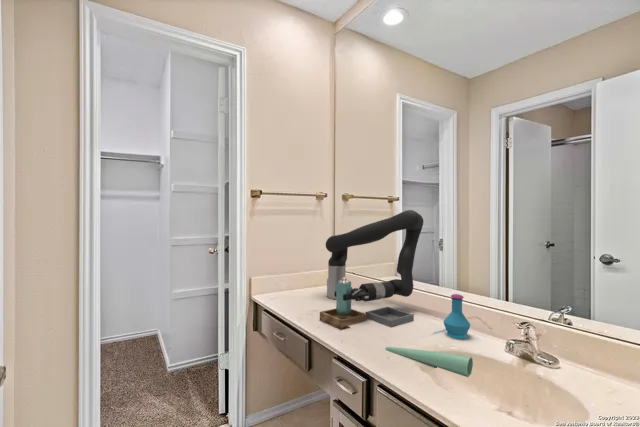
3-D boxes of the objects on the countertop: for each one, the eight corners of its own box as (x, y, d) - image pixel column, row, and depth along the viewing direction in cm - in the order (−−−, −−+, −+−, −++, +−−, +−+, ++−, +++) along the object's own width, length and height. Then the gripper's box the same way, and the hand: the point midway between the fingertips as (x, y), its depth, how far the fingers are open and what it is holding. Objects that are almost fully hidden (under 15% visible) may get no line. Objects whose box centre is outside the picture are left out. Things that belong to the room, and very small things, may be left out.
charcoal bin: (365, 320, 141) (365, 311, 141) (387, 314, 149) (387, 306, 149) (391, 329, 130) (391, 320, 130) (413, 322, 138) (413, 314, 138)
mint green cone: (389, 331, 113) (473, 354, 96) (389, 347, 113) (473, 373, 96) (381, 336, 109) (467, 360, 92) (381, 352, 109) (467, 380, 92)
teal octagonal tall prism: (333, 314, 139) (333, 277, 139) (344, 311, 143) (344, 275, 143) (343, 317, 134) (343, 279, 134) (354, 314, 138) (354, 277, 138)
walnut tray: (319, 320, 140) (319, 311, 140) (344, 314, 148) (344, 306, 148) (341, 329, 129) (341, 320, 129) (367, 322, 137) (367, 314, 137)
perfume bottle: (465, 331, 129) (465, 292, 129) (473, 340, 120) (474, 298, 120) (440, 330, 130) (441, 291, 130) (447, 339, 121) (447, 297, 121)
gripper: (362, 280, 151) (330, 283, 144) (382, 286, 138) (348, 290, 131) (362, 296, 151) (330, 300, 144) (382, 304, 139) (348, 309, 131)
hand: (339, 296), depth 137 cm, fingers closed on teal octagonal tall prism, 6 cm apart
